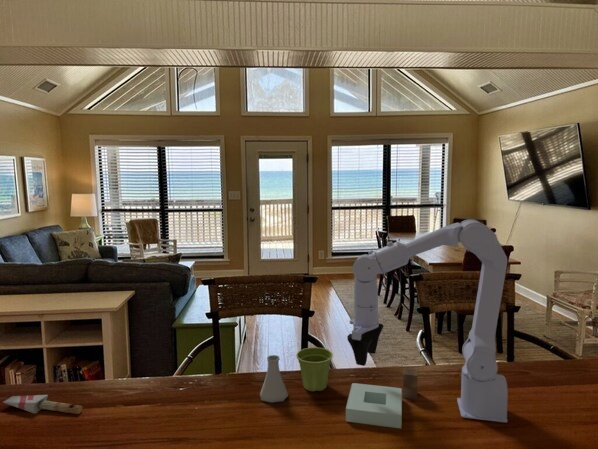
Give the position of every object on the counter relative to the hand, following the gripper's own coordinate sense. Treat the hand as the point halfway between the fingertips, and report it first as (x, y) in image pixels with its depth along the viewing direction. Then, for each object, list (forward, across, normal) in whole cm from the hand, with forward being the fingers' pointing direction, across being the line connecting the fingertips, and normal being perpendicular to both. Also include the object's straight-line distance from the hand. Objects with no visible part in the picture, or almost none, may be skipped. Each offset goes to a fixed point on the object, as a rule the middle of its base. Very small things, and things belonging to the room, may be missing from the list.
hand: (366, 358), depth 100 cm
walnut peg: (+10, -6, +9) cm, 15 cm away
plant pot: (+10, +1, -14) cm, 17 cm away
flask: (+10, +10, -21) cm, 25 cm away
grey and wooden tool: (+10, +40, -67) cm, 79 cm away
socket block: (+10, +5, +4) cm, 12 cm away
